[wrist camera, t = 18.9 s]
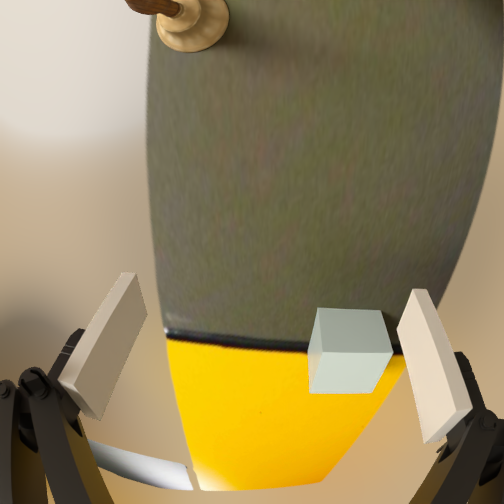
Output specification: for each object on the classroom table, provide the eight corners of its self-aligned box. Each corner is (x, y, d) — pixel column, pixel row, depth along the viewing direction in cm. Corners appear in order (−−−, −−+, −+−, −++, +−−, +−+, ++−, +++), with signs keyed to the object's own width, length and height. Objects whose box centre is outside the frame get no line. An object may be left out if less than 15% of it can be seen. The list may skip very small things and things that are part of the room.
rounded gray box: (318, 307, 47) (322, 352, 39) (380, 310, 46) (393, 352, 39) (307, 351, 52) (309, 393, 45) (363, 352, 51) (371, 392, 44)
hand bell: (238, 38, 28) (206, 11, 15) (169, 63, 30) (95, 63, 17) (216, -22, 24) (172, -78, 11) (149, 5, 26) (69, -22, 12)
